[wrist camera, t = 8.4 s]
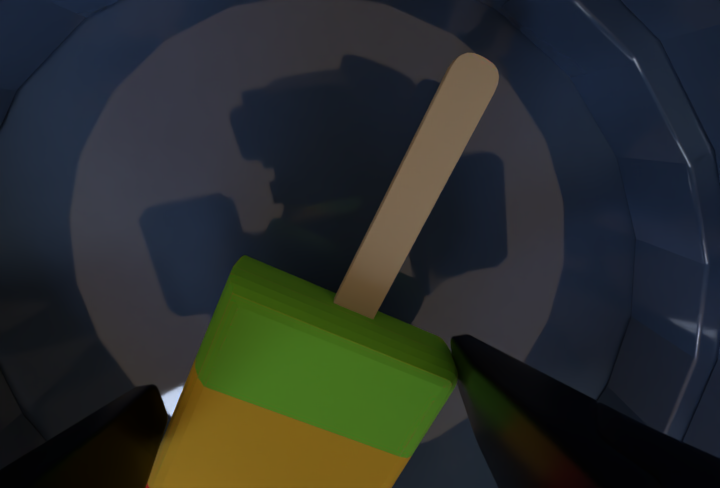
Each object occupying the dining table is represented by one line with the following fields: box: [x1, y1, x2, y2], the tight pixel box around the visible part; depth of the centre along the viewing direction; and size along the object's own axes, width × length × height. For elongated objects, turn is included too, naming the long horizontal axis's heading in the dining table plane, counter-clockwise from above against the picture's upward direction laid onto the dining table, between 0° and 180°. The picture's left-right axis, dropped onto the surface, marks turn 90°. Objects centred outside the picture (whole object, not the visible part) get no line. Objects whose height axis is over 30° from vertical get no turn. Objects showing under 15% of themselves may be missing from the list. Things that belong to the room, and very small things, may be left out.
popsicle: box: [146, 53, 499, 488], centre depth 9 cm, size 6×15×2 cm, turn 154°
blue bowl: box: [0, 0, 720, 488], centre depth 9 cm, size 20×20×5 cm
